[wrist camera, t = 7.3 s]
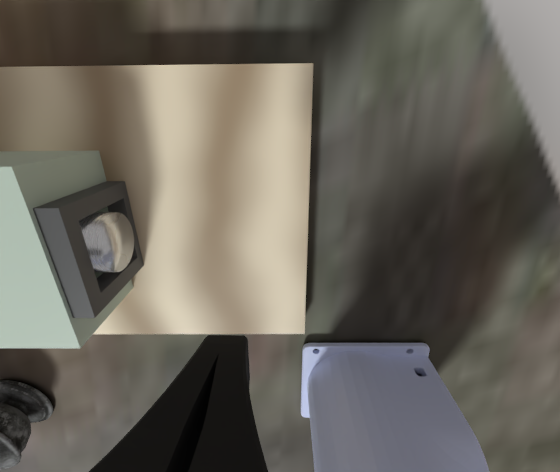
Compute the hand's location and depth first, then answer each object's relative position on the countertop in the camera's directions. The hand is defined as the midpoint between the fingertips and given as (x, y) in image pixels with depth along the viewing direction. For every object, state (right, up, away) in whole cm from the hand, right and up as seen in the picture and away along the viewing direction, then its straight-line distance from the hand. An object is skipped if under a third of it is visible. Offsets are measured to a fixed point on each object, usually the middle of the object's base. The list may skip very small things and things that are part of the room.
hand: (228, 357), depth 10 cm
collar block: (-11, +5, +7) cm, 14 cm away
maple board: (-8, +5, +8) cm, 12 cm away
